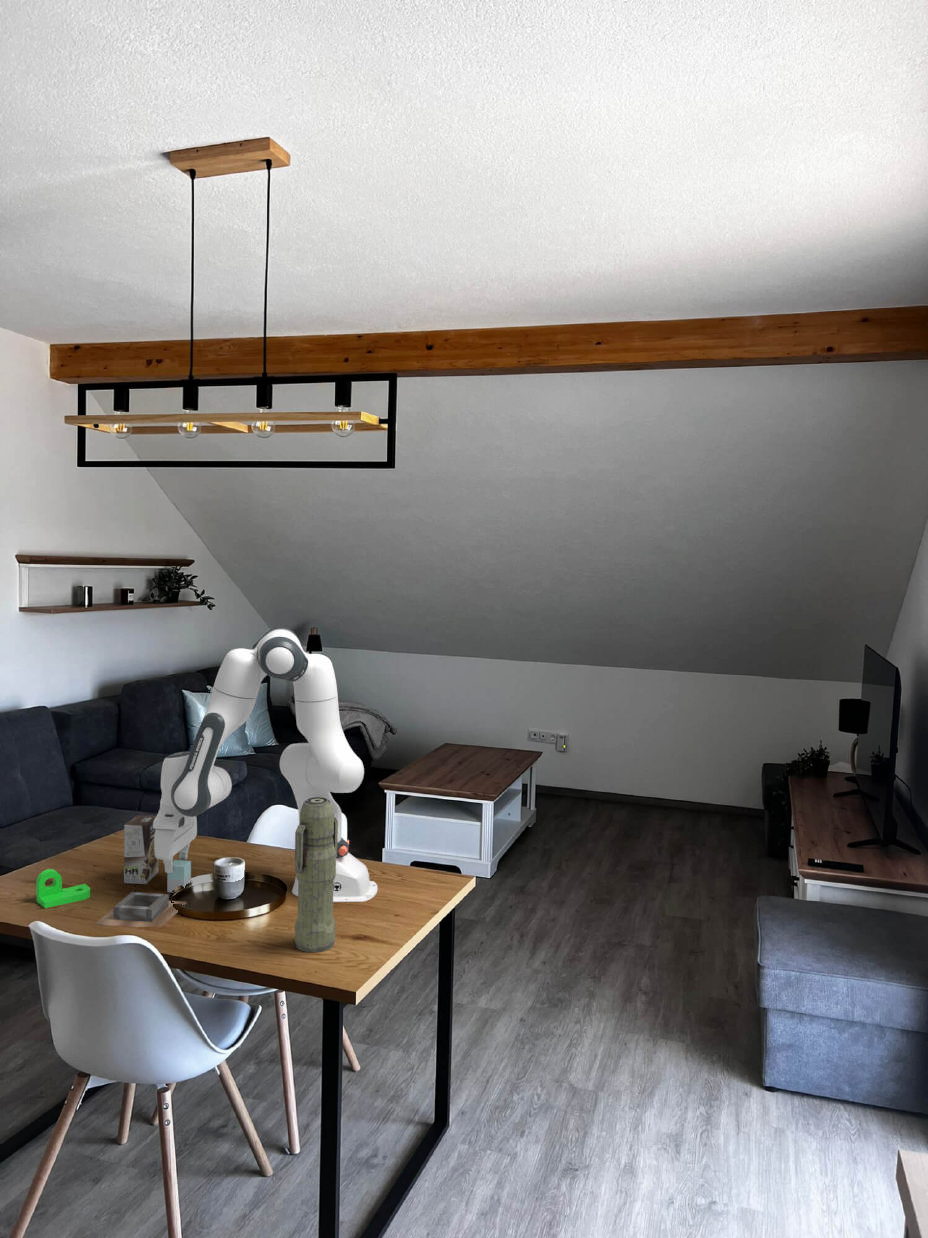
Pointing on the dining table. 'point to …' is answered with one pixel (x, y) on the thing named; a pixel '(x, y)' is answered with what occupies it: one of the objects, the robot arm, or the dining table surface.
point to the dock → (141, 911)
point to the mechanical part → (58, 890)
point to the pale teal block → (179, 875)
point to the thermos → (315, 875)
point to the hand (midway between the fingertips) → (176, 865)
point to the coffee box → (139, 850)
